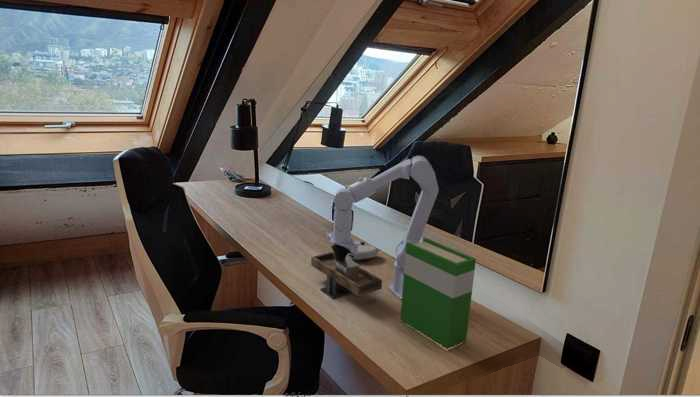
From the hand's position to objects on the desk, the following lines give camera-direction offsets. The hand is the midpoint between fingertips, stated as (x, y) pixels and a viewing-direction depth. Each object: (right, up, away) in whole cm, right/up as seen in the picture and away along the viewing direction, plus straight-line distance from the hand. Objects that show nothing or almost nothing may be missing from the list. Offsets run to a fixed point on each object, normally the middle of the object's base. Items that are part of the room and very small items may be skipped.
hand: (340, 265), depth 150 cm
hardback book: (+26, -15, -22) cm, 37 cm away
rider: (+2, -2, -2) cm, 4 cm away
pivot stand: (+1, -8, 0) cm, 8 cm away
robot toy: (+6, 0, +28) cm, 29 cm away
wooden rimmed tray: (+1, -3, -1) cm, 4 cm away
